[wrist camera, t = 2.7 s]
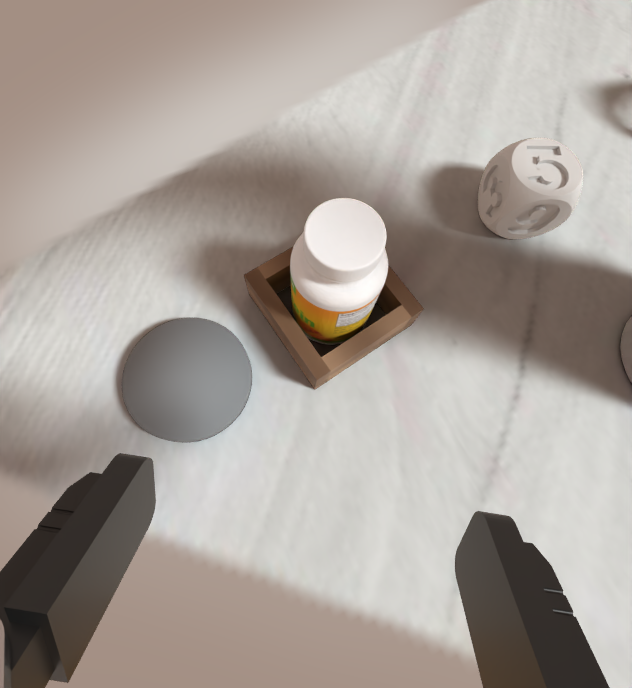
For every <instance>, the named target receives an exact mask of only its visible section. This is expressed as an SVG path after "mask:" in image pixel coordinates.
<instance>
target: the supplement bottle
mask: <svg viewBox="0 0 632 688" xmlns="http://www.w3.org/2000/svg"><path fill="white" fill-rule="evenodd" d="M386 239H387V234H386V228H385V225H384V222H383V220H382V218H381V217H380V215H379V214H378V213H377V212H376V211H375V210H374V209H373V208H372V207H370V206H369V205H367V204H366V203H364V202H361V201H359V200H355V199H351V198H337V199H332V200H328V201H326V202H324V203H322V204H320V205H319V206H317V207H316V208H315V209H314V210H313V211H312V212H311V213H310V215H309V216H308V218H307V220H306V223H305V226H304V232H303V233H302V234H301V235H300V237H299V238H298V239H297V241H296V243H295V245H294V247H293V250H292V253H291V259H290V274H291V299H292V313H293V318H294V320H295V321H296V323H297V324H298V325H299V327H300V328H301V330H302V331H303V333H304V334H305V335H306V336H307V337H308V338H310V339H311V340H313V341H316V342H318V343H322V344H329V345H333V344H340V343H344V342H346V341H347V340H349V339H350V338H352V337H353V336H355V335H356V334H358V333H359V332H360V331H361V330H362V329H363V327H364V326H365V324H366V322H367V320H368V318H369V316H370V314H371V311H372V309H373V307H374V305H375V303H376V301H377V299H378V296H379V294H380V292H381V290H382V288H383V286H384V283H385V281H386V277H387V273H388V257H387V253H386V250H385V245H386Z"/></svg>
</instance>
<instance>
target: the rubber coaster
mask: <svg viewBox="0 0 632 688" xmlns="http://www.w3.org/2000/svg"><path fill="white" fill-rule="evenodd" d="M251 385H252V370H251V365H250V361H249V358H248V356H247V353H246V351H245V349H244V347H243V346H242V344H241V342H240V341H239V340H238V338H237V337H236V336H235V335H234V334H233V333H232V332H231V331H229V330H228V329H227V328H225V327H224V326H222V325H220V324H218V323H216V322H213V321H211V320H207V319H202V318H181V319H176V320H172V321H169V322H167V323H164V324H162V325H160V326H158V327H156V328H155V329H153V330H152V331H150V332H149V333H148V334H146V335H145V336H144V337H143V338H142V339H141V340H140V341H139V342H138V343H137V345H136V346H135V347H134V349H133V350H132V352H131V354H130V355H129V357H128V359H127V362H126V364H125V368H124V371H123V377H122V393H123V398H124V402H125V405H126V407H127V409H128V412H129V413H130V415H131V416H132V418H133V419H134V420H135V422H136V423H137V424H138V425H139V426H140V427H141V428H143V429H144V430H145V431H147V432H148V433H150V434H152V435H154V436H156V437H158V438H161V439H165V440H169V441H174V442H196V441H201V440H204V439H208V438H210V437H212V436H215V435H216V434H218V433H220V432H222V431H223V430H224V429H226V428H227V427H228V426H230V425H231V424H232V423H233V422H234V421H235V420H236V418H237V417H238V416H239V415H240V413H241V412H242V410H243V409H244V407H245V405H246V403H247V400H248V398H249V395H250V391H251Z"/></svg>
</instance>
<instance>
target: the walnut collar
mask: <svg viewBox="0 0 632 688" xmlns="http://www.w3.org/2000/svg"><path fill="white" fill-rule="evenodd" d="M293 247H294V246H293ZM293 247H292V248H290V249H288V250H286V251H285V252H283V253H281V254H279V255H278V256H276V257H274V258H273V259H271V260H269V261H267V262H266V263H264V264H262V265H260V266H259V267H257V268H255V269H253V270H252V271H250V272H248V273H247V274H245V275H244V277H245V281H246V284H247V288H248V291H249V295H250V296H251V298H252V299H253V301H254V302H255V303H256V305H257V306H258V308H259V309H260V311H261V312H262V314H263V315H264V317H265V318H266V319H267V321H268V322H269V324H270V325H271V327H272V328H273V330H274V331H275V332H276V334H277V335H278V337H279V338H280V340H281V341H282V343H283V344H284V346H285V347H286V348H287V350H288V351H289V353H290V354H291V356H292V357H293V359H294V360H295V362H296V363H297V364H298V366H299V367H300V369H301V370H302V372H303V373H304V375H305V376H306V377H307V379H308V380H309V382H310V383H311V385H312V386H313V388H314V389H317V388H318V387H320V386H321V385H323V384H324V383H326V382H327V381H329V380H330V379H332V378H333V377H335V376H336V375H338V374H339V373H341V372H342V371H343V370H345V369H346V368H348V367H349V366H351V365H352V364H354V363H355V362H357V361H358V360H360V359H361V358H363V357H364V356H366V355H367V354H369V353H370V352H372V351H373V350H375V349H376V348H378V347H379V346H381V345H382V344H384V343H385V342H387V341H388V340H390V339H391V338H393V337H394V336H396V335H397V334H399V333H400V332H402V331H403V330H405V329H406V328H408V327H409V326H411V325H412V323H413V322H414V321H415V320H416V318H417V317H418V316H419V314H420V313H421V312H422V311H423V309H424V308H423V307H422V306H421V305H420V303H419V302H418V301H417V300H416V298H415V297H414V296H413V295H412V294H411V292H410V291H409V290H408V289H407V287H406V286H405V285H404V284H403V282H402V281H401V280H400V279H399V277H398V276H397V275H396V274H395V272H394V271H393V270H392V269H391V268H390V266H389V265H388V273H387V277H386V281H385V283H384V286H383V288H382V290H381V292H380V294H379V296H378V299H377V301H376V302H377V304H378V305H379V306H380V308H381V309H382V310H383V311H384V313H385V314H386V315H385V316H384V317H382V318H381V319H379V320H378V321H376V322H375V323H373V324H372V325H370V326H369V327H367V328H365V329H364V330H362V331H361V332H359V333H358V334H356V335H355V336H353V337H352V338H350V339H349V340H347V341H346V342H344V343H343V344H341V345H340V346H338V347H336V348H335V349H333V350H332V351H330V352H329V353H327V354H326V355H324V356H323V357H320V355H319V354H318V352H317V351H316V349H315V348H314V347H313V345H312V344H311V342H310V341H309V340H308V338H307V337H306V335H305V334H304V333H303V331H302V330H301V328H300V327H299V325H298V324H297V323H296V321H295V320H294V318H293V317H292V316H291V314H290V313H289V311H288V310H287V309H286V307H285V306H284V304H283V303H282V302H281V300H280V299H279V297H278V296H277V293H279V292H280V291H282V290H284V289H285V288H287V287H289V286H290V285H291V274H290V259H291V253H292V250H293Z"/></svg>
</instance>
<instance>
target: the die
mask: <svg viewBox="0 0 632 688" xmlns="http://www.w3.org/2000/svg"><path fill="white" fill-rule="evenodd" d="M582 186H583V171H582V167H581V164H580V162H579V160H578V158H577V157H576V155H575V154H574V153H573V152H572V151H571V150H570V149H569V148H568V147H566V146H565V145H563V144H562V143H560V142H557V141H555V140H552V139H548V138H529V139H525V140H521V141H518V142H516V143H513V144H511V145H509V146H507V147H506V148H504V149H502V150H501V151H500V152H498V153H497V154H496V155H495V156H494V157H493V158H492V159H491V160H490V161H489V163H488V164H487V166H486V168H485V170H484V173H483V175H482V178H481V182H480V186H479V192H478V211H479V215H480V218H481V220H482V222H483V223H484V224H485V225H486V226H487V228H489V229H490V230H491V231H492V232H494V233H495V234H497V235H499V236H501V237H504V238H508V239H525V238H531V237H535V236H538V235H541V234H544V233H546V232H549V231H551V230H553V229H555V228H556V227H558V226H559V225H561V224H562V223H563V222H565V221H566V220H567V219H568V217H569V216H570V215H571V214H572V212H573V211H574V209H575V207H576V206H577V203H578V201H579V198H580V195H581V192H582Z"/></svg>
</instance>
